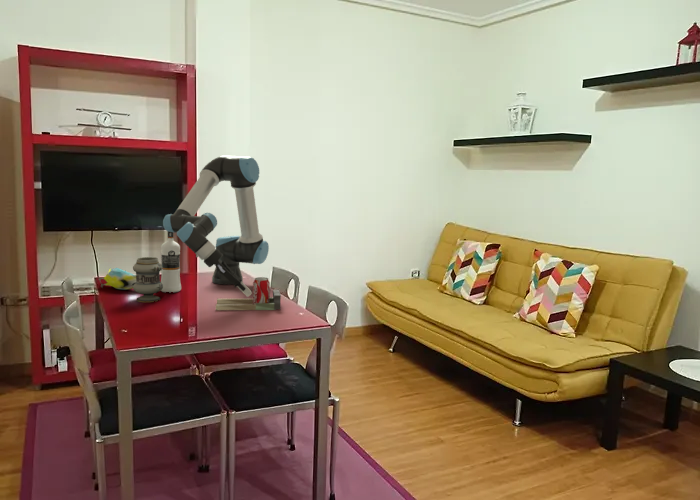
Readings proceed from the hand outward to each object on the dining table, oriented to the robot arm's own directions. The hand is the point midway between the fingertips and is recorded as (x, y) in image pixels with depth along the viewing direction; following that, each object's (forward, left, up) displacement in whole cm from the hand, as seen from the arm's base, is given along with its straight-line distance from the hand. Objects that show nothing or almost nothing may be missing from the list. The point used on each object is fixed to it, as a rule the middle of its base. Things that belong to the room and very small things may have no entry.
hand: (250, 294), depth 236 cm
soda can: (0, +5, -5) cm, 7 cm away
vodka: (-31, -36, -5) cm, 48 cm away
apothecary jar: (-13, -43, -5) cm, 45 cm away
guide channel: (0, -1, -5) cm, 5 cm away
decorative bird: (-39, -55, -5) cm, 68 cm away
